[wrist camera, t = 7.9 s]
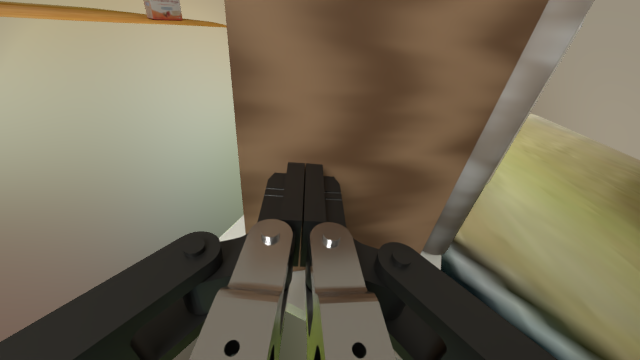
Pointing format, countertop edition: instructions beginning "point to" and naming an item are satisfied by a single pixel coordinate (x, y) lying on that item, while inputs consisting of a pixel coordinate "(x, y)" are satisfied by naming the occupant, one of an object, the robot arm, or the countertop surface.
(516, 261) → the countertop surface
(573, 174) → the countertop surface
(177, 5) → the cracker box
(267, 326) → the robot arm
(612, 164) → the countertop surface
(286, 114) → the brown wooden slab
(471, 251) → the countertop surface
